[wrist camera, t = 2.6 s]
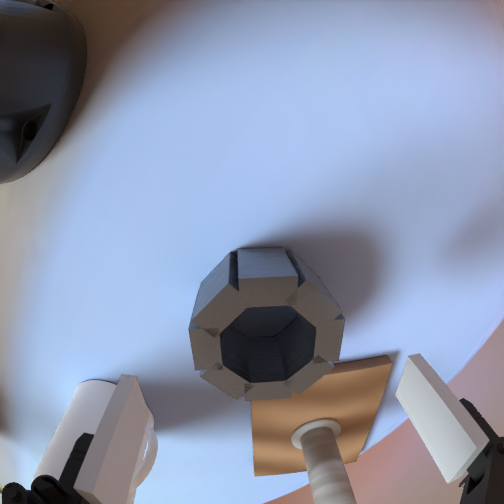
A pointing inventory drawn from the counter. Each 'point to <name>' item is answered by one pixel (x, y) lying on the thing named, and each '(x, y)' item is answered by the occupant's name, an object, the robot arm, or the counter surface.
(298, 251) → the counter surface
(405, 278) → the counter surface
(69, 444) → the mug
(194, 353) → the ring
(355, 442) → the post block
